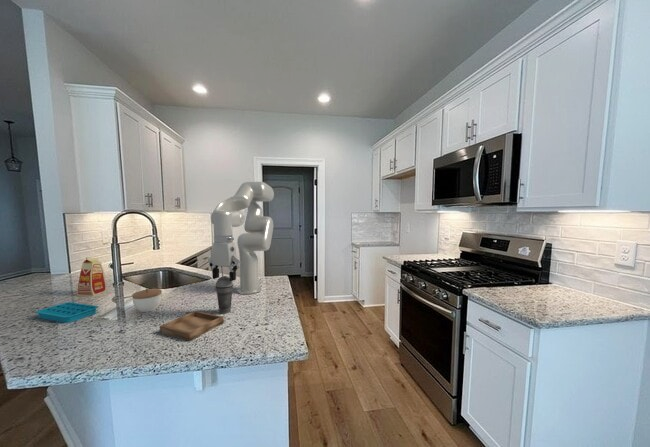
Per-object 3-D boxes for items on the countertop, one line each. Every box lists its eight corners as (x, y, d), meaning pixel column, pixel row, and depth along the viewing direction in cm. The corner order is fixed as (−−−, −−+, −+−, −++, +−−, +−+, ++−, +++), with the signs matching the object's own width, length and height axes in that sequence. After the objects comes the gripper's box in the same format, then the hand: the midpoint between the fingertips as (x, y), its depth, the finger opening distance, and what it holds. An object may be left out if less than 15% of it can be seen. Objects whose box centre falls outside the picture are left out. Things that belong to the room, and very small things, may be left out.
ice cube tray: (69, 308, 115) (68, 301, 115) (100, 313, 109) (100, 306, 109) (33, 318, 104) (33, 311, 104) (66, 325, 98) (66, 317, 98)
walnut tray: (195, 316, 105) (195, 310, 105) (223, 322, 99) (223, 316, 99) (160, 332, 91) (159, 326, 91) (189, 341, 85) (189, 333, 85)
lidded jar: (162, 310, 111) (161, 289, 110) (131, 316, 105) (130, 294, 105) (162, 303, 120) (161, 283, 119) (134, 308, 114) (133, 287, 114)
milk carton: (93, 296, 130) (91, 257, 129) (75, 296, 130) (73, 257, 129) (108, 290, 139) (107, 254, 138) (92, 290, 139) (90, 254, 138)
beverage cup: (227, 315, 105) (226, 268, 104) (212, 314, 107) (211, 267, 106) (237, 309, 112) (236, 264, 111) (222, 308, 114) (221, 264, 113)
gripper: (245, 239, 108) (246, 279, 109) (214, 238, 115) (215, 275, 116) (232, 241, 101) (233, 283, 102) (201, 239, 108) (202, 279, 109)
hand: (224, 279), depth 109 cm, fingers open, 9 cm apart
